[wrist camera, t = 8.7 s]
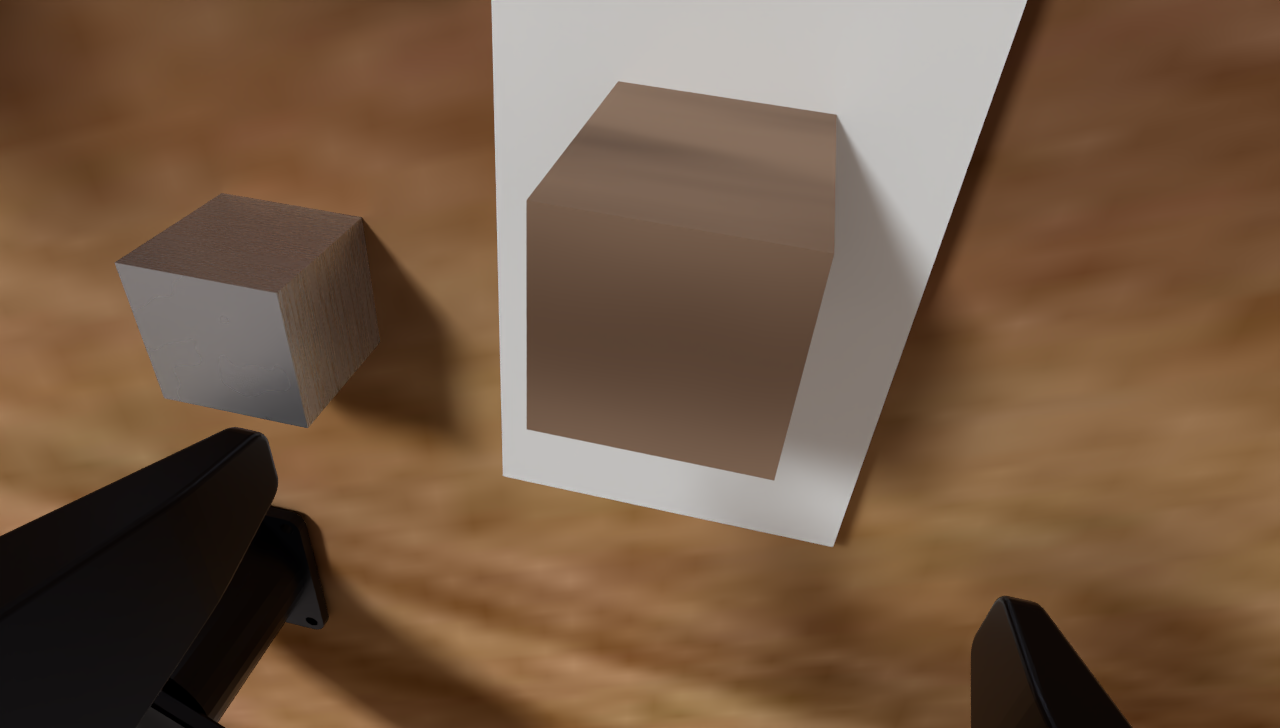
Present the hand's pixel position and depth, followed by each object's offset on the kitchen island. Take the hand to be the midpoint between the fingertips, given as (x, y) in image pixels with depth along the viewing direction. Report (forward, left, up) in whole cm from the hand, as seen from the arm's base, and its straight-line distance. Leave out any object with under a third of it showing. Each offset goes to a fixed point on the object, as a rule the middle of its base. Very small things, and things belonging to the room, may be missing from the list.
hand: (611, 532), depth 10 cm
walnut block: (0, 0, -10) cm, 10 cm away
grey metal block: (-5, +11, -11) cm, 16 cm away
